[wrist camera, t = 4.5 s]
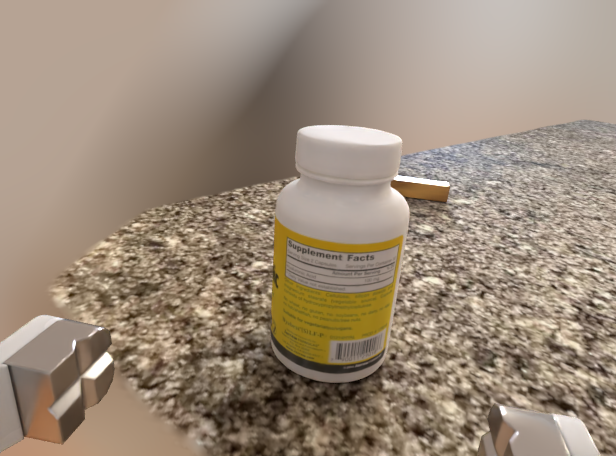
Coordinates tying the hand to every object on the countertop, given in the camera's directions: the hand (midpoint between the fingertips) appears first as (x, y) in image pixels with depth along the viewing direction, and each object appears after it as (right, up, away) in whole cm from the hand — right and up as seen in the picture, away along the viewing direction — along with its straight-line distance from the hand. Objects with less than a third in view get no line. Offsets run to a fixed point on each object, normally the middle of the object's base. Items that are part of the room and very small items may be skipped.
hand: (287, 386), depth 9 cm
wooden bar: (+9, +7, +34) cm, 36 cm away
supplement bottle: (+1, -2, +11) cm, 11 cm away
